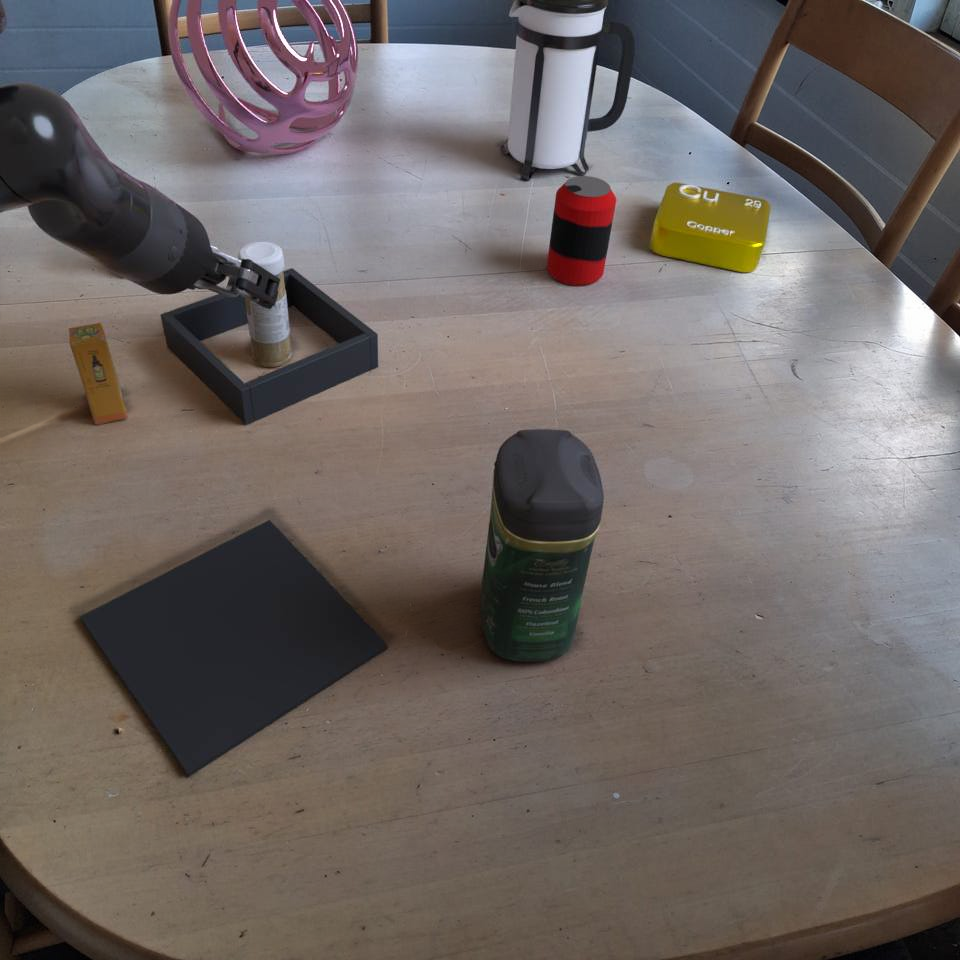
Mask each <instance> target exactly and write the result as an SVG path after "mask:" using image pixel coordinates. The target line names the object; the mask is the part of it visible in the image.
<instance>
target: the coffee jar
mask: <svg viewBox="0 0 960 960" xmlns="http://www.w3.org/2000/svg"><path fill="white" fill-rule="evenodd" d="M495 458H496V459H495V461H494V463H493V465H494V467H493V476H492V487H491V488H492V489H491V501H490V513H489V521H488V529H487V538H486V546H485V555H484V561H483V562H484V563H483V570H482V577H481V586H480V598H479V599H480V603H479V605H480V606H479V607H480V619H481V626H482V629H483V630H482V631H483V633H484V637H485V640H486V643H487V645H488V647H489V648H490V650H491V651H492V652H493V653H494V654H495V655H497V656H498V657H500V658H502V659H504V660H508V661H512V662H519V663H539V662H547V661H552V660H556V659H558V658H560V657H562V656H563V655H565V654H566V653H567V652H568V651H570V649H571V647H572V645H573V642H574V638H575V633H576V630H577V624H578V619H579V615H580V609H581V603H582V598H583V595H584V590H585V584H586V580H587V575H588V571H589V566H590V563H591V557H592V551H593V548H594V543H595V540H596V537H597V534H598V532H599V530H600V527H601V521H602V515H603V509H604V501H605V495H604V489H603V482H602V477H601V474H600V471H599V468H598V465H597V463H596V460H595V457H594V454H593V452H592V451H591V449H590V448H589V447H588V445H586V444H585V442H583V441H582V440H581V439H580V438H578V436H576V435H574V434H573V433H571V431H570V430H566V429H548V428H547V429H546V428H538V429H537V428H535V429H533V428H532V429H531V428H530V429H520V430H518V431H516V433H514V434H512V435H511V436H509V437H508V438H507V439H506V440H505V441H503V442H502V444H501V445H500V446H499V448H498V451H497V454H496V457H495Z"/></svg>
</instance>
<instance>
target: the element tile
mask: <svg viewBox="0 0 960 960" xmlns="http://www.w3.org/2000/svg"><path fill="white" fill-rule="evenodd" d="M663 193H664V194H663V196H662V199H661V201H660V205H659V208H658V210H657V213H656V216H655V219H654V222H653V226H652V230H651V231H652V232H651V236H650V240H649V248H650V250H651V251H652V252H653V253H654V254H656V255H658V256H662V257H666V258H670V259H675V260H681V261H686V262H691V263H695V264H700V265H705V266H709V267H715V268H718V269H723V270H729V271H732V272H733V271H734V272H738V273H751V272H754V271H756V270H757V269H758V267H759V263H760V260H761V257H762V254H763V252H764V251H763V250H764V248H765V244H766V239H767V234H768V228H769V220H770V214H771V208H772V207H771V204H770V203H769V202H768V200H766V199H763V198H760V197H755V196H749V195H744V194H739V193H734V192H729V191H724V190H719V189H713V188H709V187H703V186H698V185H693V184H688V183H682V182H672V183H669V184H668V185H667V186H666V188H665V191H664V192H663Z"/></svg>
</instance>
